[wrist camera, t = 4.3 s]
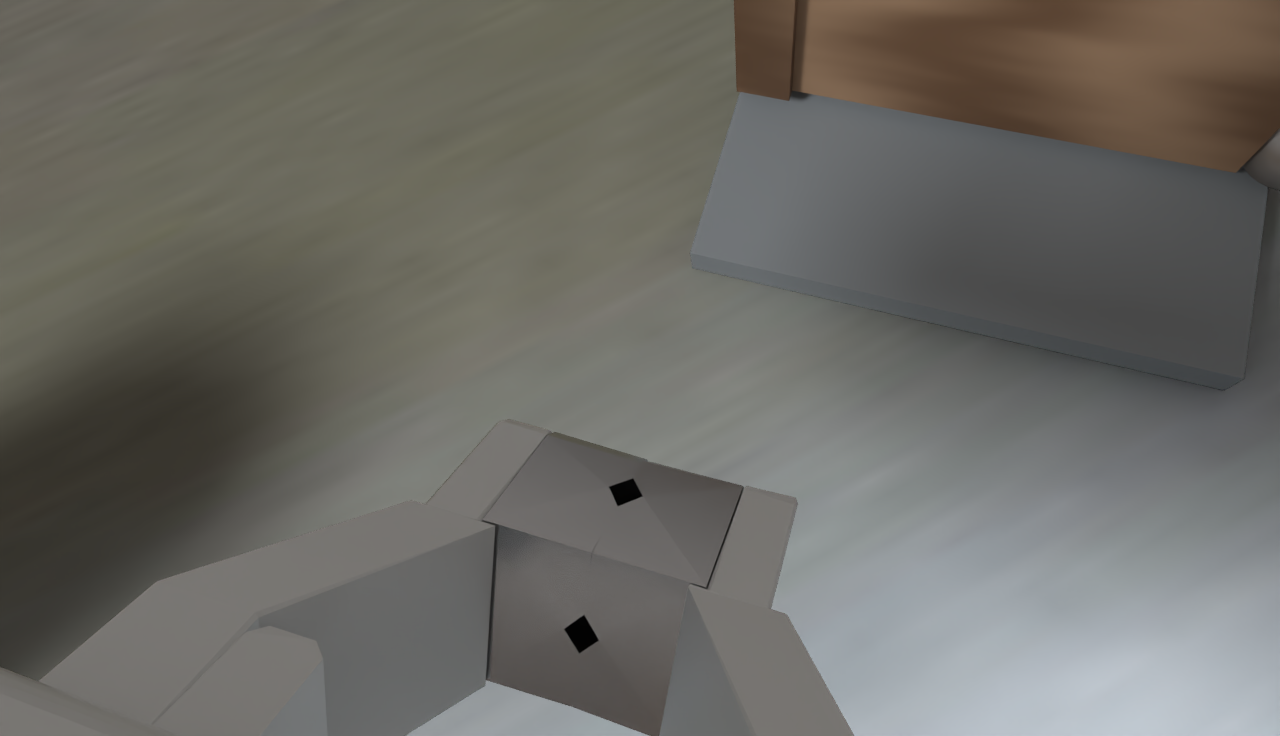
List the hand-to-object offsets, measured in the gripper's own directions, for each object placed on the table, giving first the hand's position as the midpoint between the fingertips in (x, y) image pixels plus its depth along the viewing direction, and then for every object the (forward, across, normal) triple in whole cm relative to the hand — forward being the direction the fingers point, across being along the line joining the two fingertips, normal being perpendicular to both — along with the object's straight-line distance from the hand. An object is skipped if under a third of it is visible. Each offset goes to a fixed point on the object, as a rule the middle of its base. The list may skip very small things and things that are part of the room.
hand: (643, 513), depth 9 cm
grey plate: (+24, -4, -4) cm, 25 cm away
